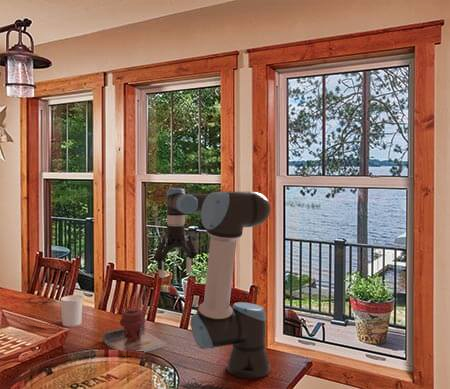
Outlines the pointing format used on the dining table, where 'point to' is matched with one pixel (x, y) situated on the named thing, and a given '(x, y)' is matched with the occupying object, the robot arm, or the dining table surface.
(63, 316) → the candle holder
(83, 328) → the dining table surface
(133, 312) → the mechanical component
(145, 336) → the rack plate
